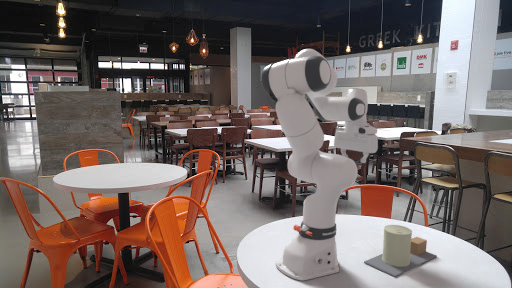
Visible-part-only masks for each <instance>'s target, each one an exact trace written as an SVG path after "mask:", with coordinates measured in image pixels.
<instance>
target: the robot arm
mask: <svg viewBox="0 0 512 288" xmlns="http://www.w3.org/2000/svg"><path fill="white" fill-rule="evenodd" d="M337 82H338V74H337V72H336V70H335V68H334V67H333V65H331V63H330V62H329V61H328V59H326V58H325V57H324V55H322V54H321V53H320V52H319V51H317V50H315V49H313V48H305V49H302V50H300V51H299V52H297V53H296V55H295V56H294V58H288V59H285V60H282V61H278V62H272V63H270V64H268V65H267V66H264V67H263V69H262V71H261V76H260V83H261V87H262V89H263V90H264V92H265V94H266V95H268V97H269V98H270V100H271V101H272V102H275V103H276V104H275V112H276V117H277V119H278V122H279V125H280V128H281V130H282V131H283V133H284V135H285V138H286V139H287V141H288V142H287V143H289V146H290V148H291V150H292V151H291V152H292V153H291V154H290V155H289V158H288V160H287V170H288V173H289V175H291V177H294V178H295V179H298V180H300V181H301V182H307V183H311V184H315V185H316V189H315V192H314V193H311V194H310V195H307V197H306V198H305V199H304V201H303V206H302V207H303V209H302V221H301V224H300V225H299V224H294V225H293V230H294V231H296V232H298V233H297V234H296V236H295V237H294V238H293V239H292V240H291V241H290V242H289V243H288V244H287V245H286V246H285V247H284V249H283V253H282V258H280V259H278V260H276V261H275V267H276V268H277V270H279V272H281V273H283V274H284V275H285V276H288V277H289V278H291V279H294V280H298V281H301V282H302V281H307V280H312V279H316V278H320V277H324V276H328V275H332V274H337V273H339V272H340V267H339V260H338V259H339V258H338V251H337V249H338V248H337V242H336V235H337V224H336V214H337V206H338V203H339V202H338V201H339V199H340V196H341V195H342V194H343V192H344V191H345V190H347V189H349V188H350V187H352V186H353V185H354V184H355V182H356V181H357V179H358V178H357V177H358V174H359V173H358V167H357V164H356V162H355V160H353V159H351V158H350V157H349V155H348V154H347V153H346V152H347V150H348V151H355V152H360V153H362V155H363V156H362V157H361V158H360V162H359V163H362V164H366V162H367V158H368V157H369V156H370V154H375V153H377V151H378V149H379V145H378V144H379V142H378V141H379V139H378V135H377V134H378V128H377V127H374V126H372V125H370V124H367V123H368V122H367V121H368V119H367V113H368V107H369V106H368V94H367V91H366V90H365V89H363V88H357V87H356V88H353V87H352V88H349V89H348V90H347V91H346V92H347V93H346V95H344V96H328V95H330V94H331V93H332V92H333V91H334V89H335V88H336V86H337ZM306 98H307V99H306ZM307 100H308V101H309V102H308V101H307ZM310 104H311V105H312V107H313V109H314V110H313V109H312V107H311V105H310ZM314 111H315V112H314ZM318 119H319V120H320V121H322V122H326V121H327V122H328V121H329V122H330V121H331V122H332V121H333V122H334V121H335V122H344V126H343V127H342V126H338V127H337V128H336V129H335V135H334V140H333V146H334V147H335V149H336V148H337V149H340V153H341V154H337V153H330V152H324V151H321V150H320V149H321V148H322V147H323V144H324V140H325V133H324V131H323V129H322V127H321V125H320V123H319V121H318Z"/></svg>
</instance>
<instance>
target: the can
mask: <svg viewBox="0 0 512 288" xmlns="http://www.w3.org/2000/svg"><path fill="white" fill-rule="evenodd" d="M412 233H413V231H412V230H411V229H410V228H409V227H406V226H403V225H399V224H387V225H385V226H384V227H383V245H382V254H383V256H382V260H383V261H384V262H385V263H387V264H389V265H392V266H396V267H406V266H408V265H409V264H410V249H411V239H412V237H413V236H412V235H413V234H412Z"/></svg>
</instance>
